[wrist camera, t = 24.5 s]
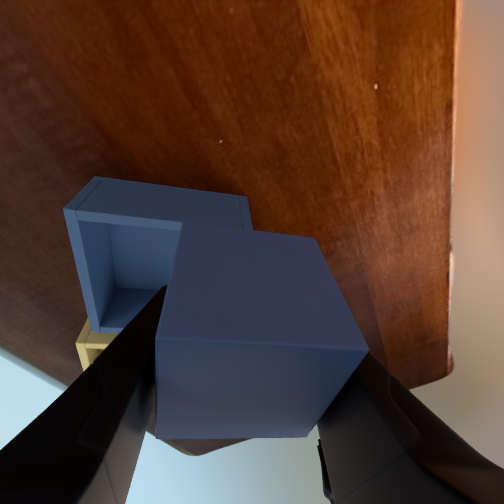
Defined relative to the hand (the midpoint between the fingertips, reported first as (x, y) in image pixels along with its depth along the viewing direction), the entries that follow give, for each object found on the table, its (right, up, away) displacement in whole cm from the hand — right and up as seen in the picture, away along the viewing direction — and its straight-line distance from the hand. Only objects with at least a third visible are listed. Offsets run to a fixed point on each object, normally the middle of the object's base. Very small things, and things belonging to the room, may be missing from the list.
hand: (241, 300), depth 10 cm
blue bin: (-6, +2, +11) cm, 13 cm away
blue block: (0, +1, +1) cm, 1 cm away
